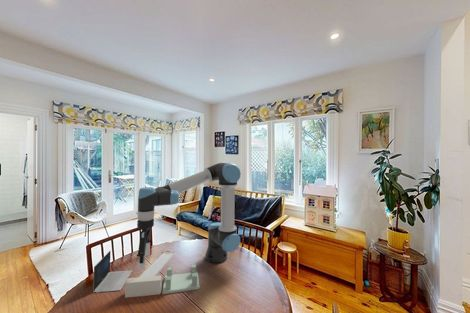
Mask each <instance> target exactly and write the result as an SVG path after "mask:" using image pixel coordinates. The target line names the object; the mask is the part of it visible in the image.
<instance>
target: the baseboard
mask: <svg viewBox="0 0 470 313" xmlns="http://www.w3.org/2000/svg"><path fill="white" fill-rule="evenodd" d="M174 256H175V251H173V252H171V251H170V250H167V251H166V252H163V251H162V252H161V254H160V255H159V256H158V257H157V258H156V260H154V262H152V264H150V266H148V267H147V268H145V269H144V271H143V272H142V273H140V275H139V276H138V277H150V276H158V275H159V273H160V272H161V270H162V269H164V267H165V266H166V265H167V264H168V263H169V262H170V260H171V259H172V258H173V257H174Z"/></svg>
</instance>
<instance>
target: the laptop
mask: <svg viewBox="0 0 470 313" xmlns="http://www.w3.org/2000/svg"><path fill="white" fill-rule="evenodd" d="M132 272H133V270H119V271H118V270H117V271H111V250H109V251H108V252H107V253H106V254H105V255H104V256H103V258H101V259H100V260H99V261H98V262H97V263H96V264H95V265H94V267H93V278H92V279H93V281H92V282H93V283H92V284H93V285H92V292H93V294H101V293H109V292H117V291H121V290H122V288H123V287H124V286H125V283H126V281H127V279H128V278H130V277H129V276H130V275H131V273H132ZM94 292H96V293H94Z"/></svg>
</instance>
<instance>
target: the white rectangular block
mask: <svg viewBox="0 0 470 313" xmlns="http://www.w3.org/2000/svg"><path fill="white" fill-rule="evenodd" d="M162 277H163V275H156V276H150V277H139V276H138V277H128V278H127V280H126V282H125V283H124V298H134V297H135V298H136V297H145V296H156V295H161V293H162V290H163V285H162V284H163V278H162Z"/></svg>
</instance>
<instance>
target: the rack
mask: <svg viewBox="0 0 470 313" xmlns="http://www.w3.org/2000/svg"><path fill="white" fill-rule="evenodd" d="M190 271H191V272H185V273H175V274H172V273H173V266H169V267H167V268H166V275H164V279H163V285H162V292H161V293H162V295H167V294H174V293H181V292H186V291H187V292H188V291H189V292H190V291H195V290H200V280H199V274H198V271H197V264H191V266H190Z"/></svg>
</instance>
